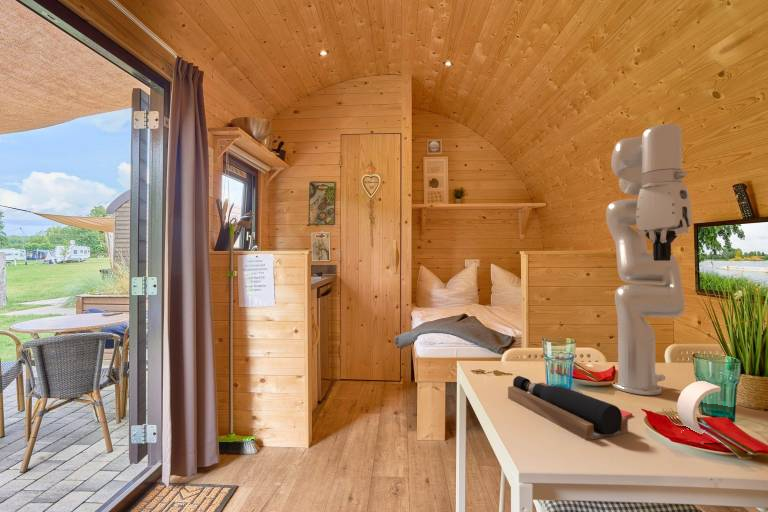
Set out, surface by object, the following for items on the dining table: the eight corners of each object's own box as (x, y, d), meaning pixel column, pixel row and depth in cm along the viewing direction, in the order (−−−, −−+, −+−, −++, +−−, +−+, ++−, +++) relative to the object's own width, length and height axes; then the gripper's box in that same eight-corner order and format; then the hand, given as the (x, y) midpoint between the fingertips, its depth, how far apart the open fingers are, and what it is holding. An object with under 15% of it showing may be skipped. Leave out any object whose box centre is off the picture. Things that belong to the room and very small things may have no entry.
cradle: (542, 393, 115) (542, 382, 115) (627, 432, 89) (627, 418, 89) (508, 398, 112) (508, 386, 112) (586, 440, 86) (586, 425, 86)
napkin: (599, 405, 106) (599, 403, 106) (632, 415, 99) (632, 413, 99) (583, 412, 101) (583, 409, 101) (616, 422, 95) (616, 420, 95)
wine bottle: (605, 402, 86) (512, 369, 114) (599, 432, 85) (506, 391, 113) (624, 408, 89) (528, 373, 116) (618, 436, 88) (523, 395, 115)
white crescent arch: (721, 443, 84) (720, 387, 84) (692, 443, 84) (692, 387, 84) (704, 434, 89) (703, 380, 89) (677, 433, 89) (676, 380, 89)
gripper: (708, 175, 84) (709, 260, 84) (642, 187, 99) (643, 260, 98) (684, 172, 82) (684, 260, 82) (620, 185, 96) (620, 260, 96)
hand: (662, 260), depth 90 cm, fingers closed
